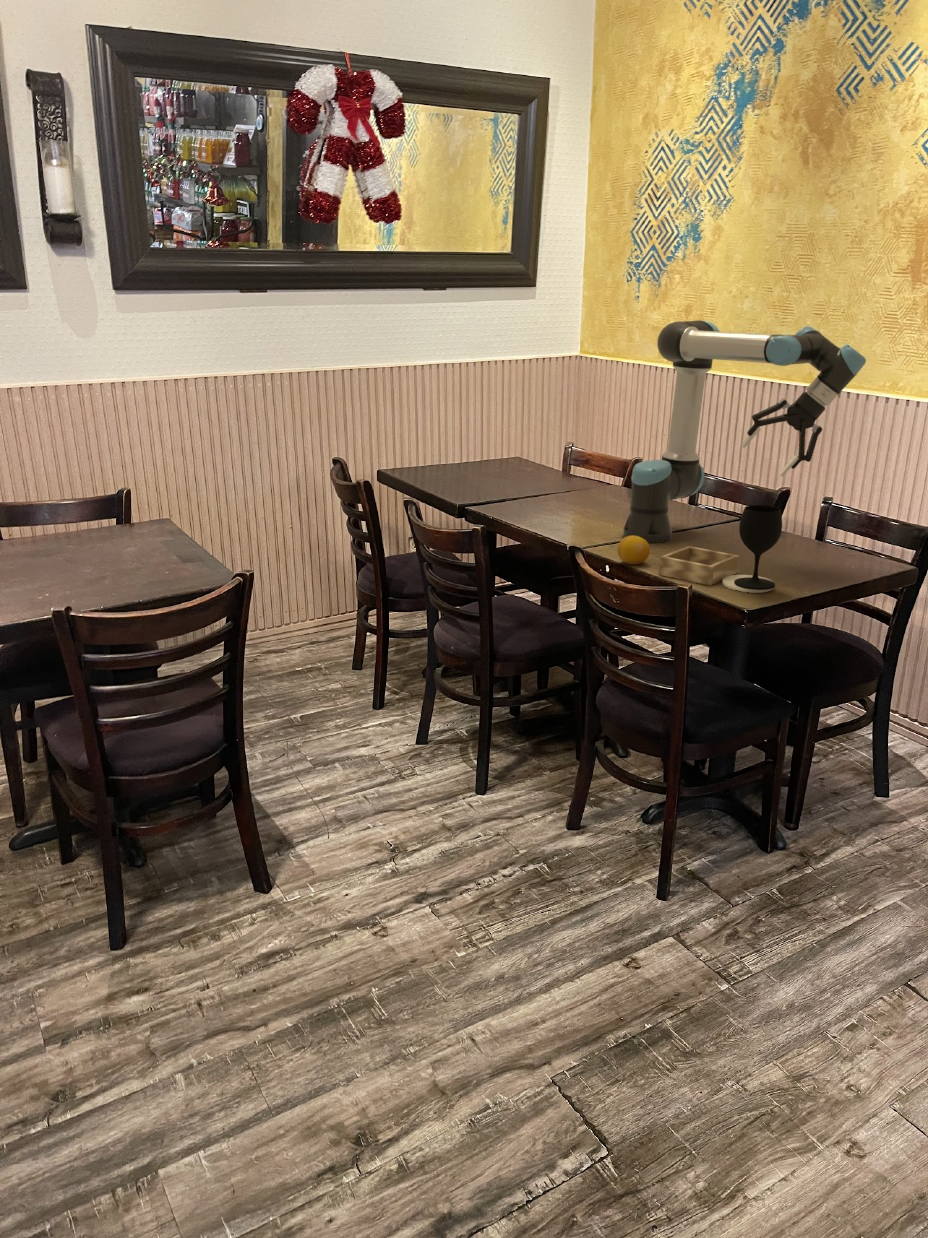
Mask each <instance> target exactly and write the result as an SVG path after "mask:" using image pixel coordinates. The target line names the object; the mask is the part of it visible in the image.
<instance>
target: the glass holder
mask: <svg viewBox="0 0 928 1238" xmlns="http://www.w3.org/2000/svg"><path fill="white" fill-rule="evenodd" d="M739 559H740V555H738V554H733V553H729V552H728V553H727V552H722V551H718V550H712V549H706V548H701V547H695V546H691V545H687V546H686V547H682V548H680V549H677V550H674V551H672V552H669V553H666V554H664V555H661V556H659V568H658V569H659V570H658V575H659V574H661V575H660V576H665V577H669V578H673V577H674V578H673V579H678V580H683V581H687V582H691V583H696V582H697V584H701V585H706V586H713V585H714V584H717V583H719V582H721V581H723V578H725V577H727V576H731V575H733V574H735V575H737V574H738V571H739V570H738V569H739V561H740V560H739ZM736 573H737V574H736ZM712 584H713V585H712Z"/></svg>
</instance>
